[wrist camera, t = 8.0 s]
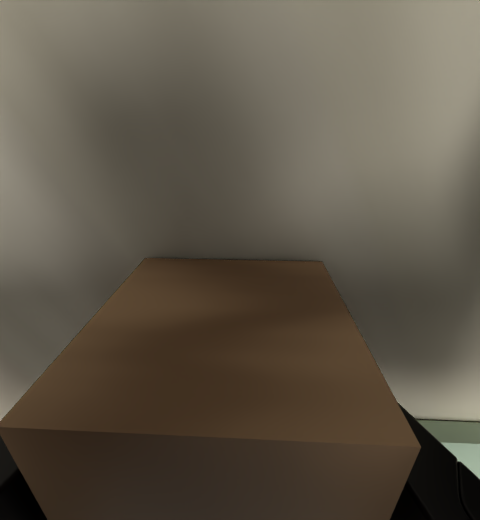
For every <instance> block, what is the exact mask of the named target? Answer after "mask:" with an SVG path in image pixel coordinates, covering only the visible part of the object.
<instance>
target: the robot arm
mask: <svg viewBox="0 0 480 520" xmlns="http://www.w3.org/2000/svg"><path fill="white" fill-rule="evenodd" d="M397 403H398V402H397ZM398 405H399V407H400V408H401V410H402V412H403V414H404V416H405V418H406V420H407V422H408V423H409V425H410V427H411V429H412V431H413V433H414V435H415V436H416V438H417V440H418V442H419V444H420V446H421V449H420V451H419V453H418V456H417V458H416V460H415V462H414V465H413V467H412V469H411V472H410V474H409V476H408V479H407V481H406V483H405V485H404V488H403V490H402V492H401V495H400V497H399V499H398V502H397V504H396V506H395V509H394V511H393V513H392V515H391V518H390V520H480V479H479V478H478V477H477V476H476V475H475V474H474V473H473V472H472V471H471V470H470V469H469V468H467V467H466V466H465V465H464V464H463V463H462V462H461V461H457V458H456V456H454V455H453V454H452V453H451V452H450V451H449V450H448V449H447V448H446V447H445V446H444V445H443V444H442V443H441V442H439V441H438V440H437V439H436V438H435V437H434V436H433V435H432V434H431V433H430V432H429V431H428V430H427V429H426V428H424V427H423V426H422V425H421V424H420V423H419V422H418V421H417V420H416V419H415V418H414V417H413V416H412V415H411V414H410V413H408V412H407V411H406V410H405V409H404V408H403V407H402V406H401V405H400V404H399V403H398ZM0 520H47V518H46V516H45V514H44V512H43V511H42V509H41V507H40V505H39V504H38V502H37V500H36V498H35V496H34V495H33V493H32V491H31V489H30V487H29V486H28V484H27V482H26V480H25V479H24V477H23V475H22V473H21V471H20V470H19V468H18V466H17V464H16V462H15V461H14V459H13V457H12V455H11V454H10V452H9V450H8V448H7V446H6V445H5V443H4V441H3V439H2V437H1V436H0Z"/></svg>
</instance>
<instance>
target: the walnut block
mask: <svg viewBox="0 0 480 520" xmlns="http://www.w3.org/2000/svg"><path fill="white" fill-rule="evenodd" d="M0 436H1V437H2V439H3V441H4V443H5V445H6V446H7V448H8V450H9V452H10V454H11V455H12V457H13V459H14V461H15V462H16V464H17V466H18V468H19V470H20V471H21V473H22V475H23V477H24V479H25V480H26V482H27V484H28V486H29V487H30V489H31V491H32V493H33V495H34V496H35V498H36V500H37V502H38V504H39V505H40V507H41V509H42V511H43V512H44V514H45V516H46V518H47V520H390V518H391V515H392V513H393V511H394V509H395V506H396V504H397V502H398V499H399V497H400V495H401V492H402V490H403V488H404V485H405V483H406V481H407V479H408V476H409V474H410V472H411V469H412V467H413V465H414V462H415V460H416V458H417V456H418V453H419V451H420V449H421V446H420V444H419V442H418V440H417V438H416V436H415V435H414V433H413V431H412V429H411V427H410V425H409V423H408V422H407V420H406V418H405V416H404V414H403V412H402V410H401V408H400V407H399V405H398V403H397V401H396V399H395V397H394V395H393V393H392V392H391V390H390V388H389V386H388V384H387V382H386V380H385V378H384V377H383V375H382V373H381V371H380V369H379V367H378V365H377V364H376V362H375V360H374V358H373V356H372V354H371V352H370V350H369V349H368V347H367V345H366V343H365V341H364V339H363V337H362V335H361V334H360V332H359V330H358V328H357V326H356V324H355V322H354V321H353V319H352V317H351V315H350V313H349V311H348V309H347V307H346V306H345V304H344V302H343V300H342V298H341V296H340V294H339V292H338V291H337V289H336V287H335V285H334V283H333V281H332V279H331V277H330V276H329V274H328V272H327V270H326V268H325V266H324V264H323V263H322V262H320V261H269V260H217V259H165V258H145V259H144V260H143V261H142V262H141V263H140V265H139V266H138V267H137V268H136V269H135V270H134V271H133V272H132V274H131V275H130V276H129V277H128V278H127V279H126V280H125V281H124V283H123V284H122V285H121V286H120V287H119V288H118V289H117V290H116V292H115V293H114V294H113V295H112V296H111V297H110V298H109V299H108V301H107V302H106V303H105V304H104V305H103V306H102V307H101V309H100V310H99V311H98V312H97V313H96V314H95V315H94V316H93V318H92V319H91V320H90V321H89V322H88V323H87V324H86V325H85V327H84V328H83V329H82V330H81V331H80V332H79V333H78V334H77V336H76V337H75V338H74V339H73V340H72V341H71V342H70V343H69V345H68V346H67V347H66V348H65V349H64V350H63V351H62V352H61V354H60V355H59V356H58V357H57V358H56V359H55V360H54V361H53V363H52V364H51V365H50V366H49V367H48V368H47V369H46V370H45V372H44V373H43V374H42V375H41V376H40V377H39V378H38V380H37V381H36V382H35V383H34V384H33V385H32V386H31V387H30V389H29V390H28V391H27V392H26V393H25V394H24V395H23V396H22V398H21V399H20V400H19V401H18V402H17V403H16V404H15V405H14V407H13V408H12V409H11V410H10V411H9V412H8V413H7V414H6V416H5V417H4V418H3V419H2V420H1V421H0Z"/></svg>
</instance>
